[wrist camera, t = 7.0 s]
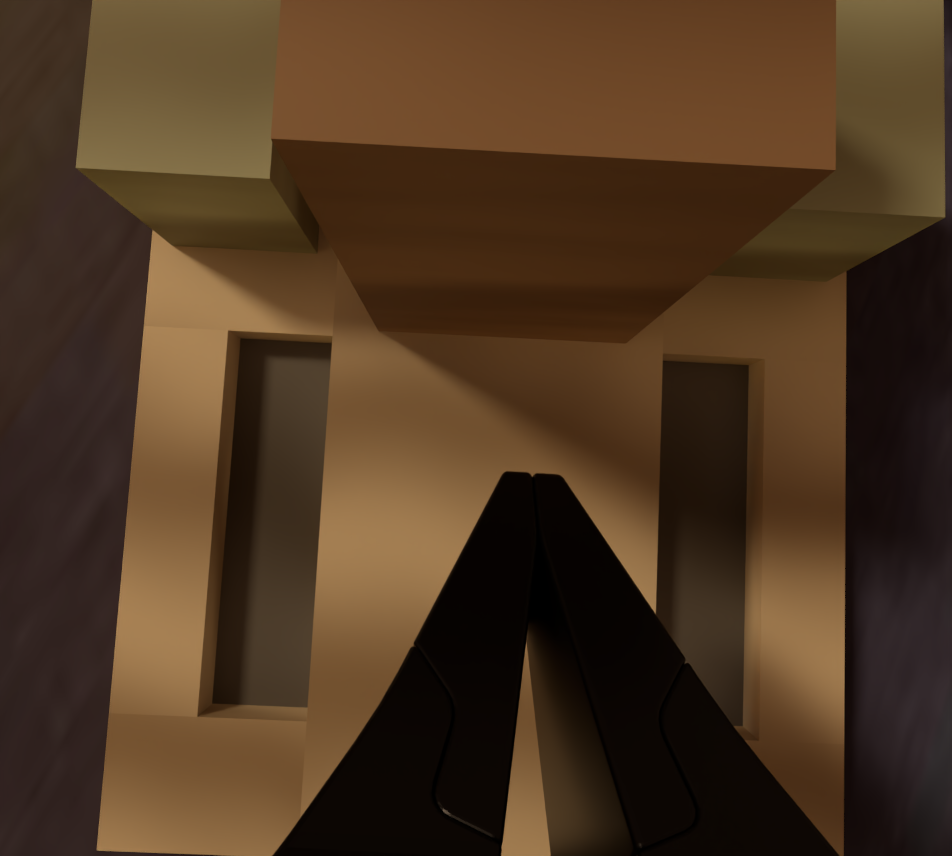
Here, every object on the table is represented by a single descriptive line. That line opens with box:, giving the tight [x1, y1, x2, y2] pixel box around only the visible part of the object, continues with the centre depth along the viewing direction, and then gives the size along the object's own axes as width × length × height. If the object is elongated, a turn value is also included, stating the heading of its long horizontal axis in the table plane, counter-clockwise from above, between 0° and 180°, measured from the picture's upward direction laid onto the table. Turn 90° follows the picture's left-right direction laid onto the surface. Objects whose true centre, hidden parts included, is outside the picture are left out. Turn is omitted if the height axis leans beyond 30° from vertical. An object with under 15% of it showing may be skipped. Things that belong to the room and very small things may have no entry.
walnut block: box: [271, 0, 836, 344], centre depth 12 cm, size 5×6×9 cm
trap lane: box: [76, 0, 945, 856], centre depth 14 cm, size 18×17×5 cm
